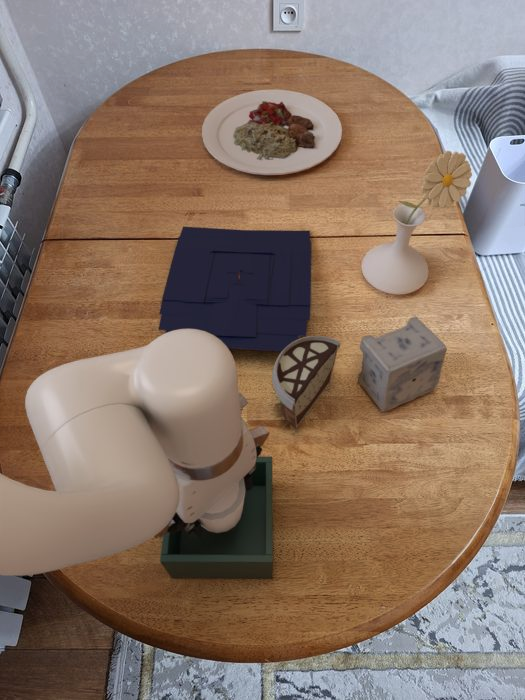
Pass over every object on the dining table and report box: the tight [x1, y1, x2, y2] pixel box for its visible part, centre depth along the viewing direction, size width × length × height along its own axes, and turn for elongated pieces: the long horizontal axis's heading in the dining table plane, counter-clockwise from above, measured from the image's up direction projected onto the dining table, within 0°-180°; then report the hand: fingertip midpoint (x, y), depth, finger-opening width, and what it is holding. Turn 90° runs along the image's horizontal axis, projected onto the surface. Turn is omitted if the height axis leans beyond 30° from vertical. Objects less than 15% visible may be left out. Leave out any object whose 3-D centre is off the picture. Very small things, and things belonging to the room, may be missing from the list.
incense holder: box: [357, 316, 448, 413], centre depth 79 cm, size 10×8×10 cm
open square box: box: [159, 456, 274, 580], centre depth 68 cm, size 13×13×8 cm
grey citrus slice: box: [271, 335, 341, 429], centre depth 79 cm, size 12×6×10 cm, turn 145°
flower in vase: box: [360, 150, 473, 295], centre depth 86 cm, size 13×11×25 cm
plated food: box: [201, 89, 343, 176], centre depth 118 cm, size 30×30×3 cm
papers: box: [157, 226, 312, 352], centre depth 93 cm, size 24×30×4 cm
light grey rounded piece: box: [197, 478, 245, 533], centre depth 63 cm, size 7×7×7 cm
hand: (217, 503), depth 64 cm, fingers closed on light grey rounded piece, 6 cm apart
